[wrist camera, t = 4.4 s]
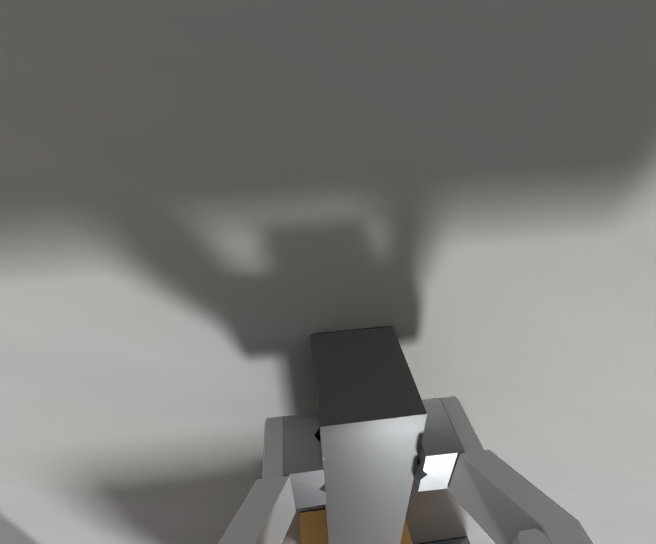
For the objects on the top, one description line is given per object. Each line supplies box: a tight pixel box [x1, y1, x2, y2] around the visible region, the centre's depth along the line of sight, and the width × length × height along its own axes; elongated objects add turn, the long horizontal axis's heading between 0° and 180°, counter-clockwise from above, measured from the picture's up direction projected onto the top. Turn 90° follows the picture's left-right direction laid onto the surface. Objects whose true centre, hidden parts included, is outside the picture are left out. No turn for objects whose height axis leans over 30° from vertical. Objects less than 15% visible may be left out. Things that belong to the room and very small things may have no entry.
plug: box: [299, 327, 427, 544], centre depth 13 cm, size 16×5×5 cm, turn 2°
